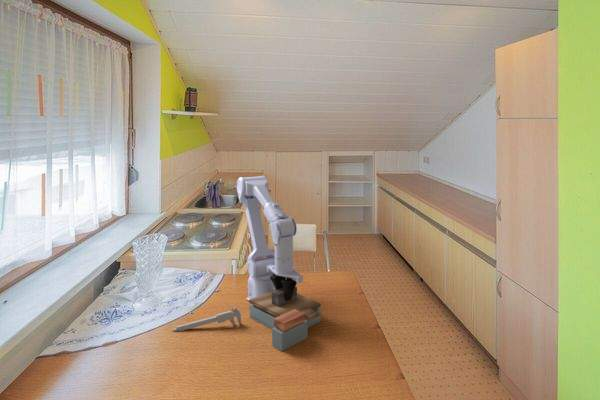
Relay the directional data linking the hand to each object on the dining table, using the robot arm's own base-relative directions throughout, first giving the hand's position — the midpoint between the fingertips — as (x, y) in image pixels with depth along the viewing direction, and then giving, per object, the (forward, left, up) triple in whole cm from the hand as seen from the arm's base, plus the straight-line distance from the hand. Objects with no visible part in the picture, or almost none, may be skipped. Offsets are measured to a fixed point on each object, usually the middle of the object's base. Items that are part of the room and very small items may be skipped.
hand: (284, 298), depth 125 cm
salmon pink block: (+11, -8, -2) cm, 14 cm away
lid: (+2, 0, -3) cm, 4 cm away
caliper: (-13, -20, -8) cm, 25 cm away
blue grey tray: (+2, -3, -7) cm, 8 cm away
